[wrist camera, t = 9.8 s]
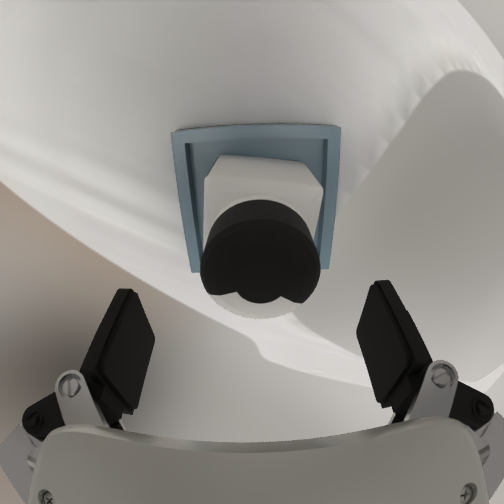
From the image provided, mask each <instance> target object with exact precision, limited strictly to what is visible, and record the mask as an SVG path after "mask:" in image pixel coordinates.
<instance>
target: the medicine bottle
mask: <svg viewBox="0 0 504 504" xmlns="http://www.w3.org/2000/svg"><path fill="white" fill-rule="evenodd" d="M322 197H323V188H322V186H321V185H320V184H319V182H318V181H317V180H316V178H315V177H314V176H313V174H312V173H311V171H310V170H309V169H308V168H307V166H306V165H305V164H304V163H303V162H299V161H291V160H283V159H274V158H264V157H253V156H241V155H227V154H221V155H219V156H218V158H217V160H216V161H215V163H214V164H213V166H212V168H211V169H210V171H209V172H208V174H207V176H206V177H205V180H204V223H203V255H202V258H201V264H200V275H201V280H202V283H203V285H204V287H205V289H206V291H207V293H208V294H209V295H210V297H211V298H212V299H213V300H214V301H215V302H216V303H217V304H219V305H220V306H221V307H223V308H224V309H226V310H228V311H229V312H231V313H234V314H236V315H239V316H242V317H247V318H254V319H266V318H273V317H277V316H281V315H284V314H286V313H288V312H290V311H292V310H294V309H296V308H297V307H298V306H300V305H301V304H302V303H303V302H305V301H306V300H307V299H308V297H309V296H310V295H311V294H312V293H313V291H314V289H315V288H316V286H317V283H318V280H319V277H320V269H321V265H320V258H319V255H318V252H317V249H316V247H315V244H314V241H313V240H314V236H315V231H316V226H317V222H318V217H319V212H320V207H321V202H322Z"/></svg>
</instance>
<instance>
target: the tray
mask: <svg viewBox="0 0 504 504" xmlns="http://www.w3.org/2000/svg"><path fill="white" fill-rule="evenodd" d="M340 133H341V128H340V127H337V126H334V125H321V124H283V123H278V124H240V125H223V126H210V127H199V128H190V129H181V130H176V131H174V132H171V138H172V147H173V156H174V164H175V172H176V180H177V187H178V194H179V201H180V208H181V215H182V221H183V227H184V233H185V239H186V245H187V250H188V256H189V261H190V267H191V272H192V273H197V272H200V264H201V258H202V255H203V223H204V180H205V177H206V176H207V174H208V172H209V171H210V169H211V168H212V166H213V164H214V163H215V161H216V160H217V158H218V156H219V155H221V154H227V155H241V156H253V157H264V158H274V159H283V160H291V161H299V162H303V163H304V164H305V165H306V166H307V168H308V169H309V170H310V171H311V173H312V174H313V176H314V177H315V178H316V180H317V181H318V182H319V184H320V185H321V186H322V188H323V197H322V202H321V207H320V212H319V217H318V222H317V226H316V231H315V236H314V240H313V241H314V244H315V247H316V249H317V252H318V255H319V258H320V265H321V269H329V263H330V255H331V247H332V239H333V230H334V221H335V211H336V200H337V188H338V174H339V157H340Z"/></svg>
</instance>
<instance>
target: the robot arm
mask: <svg viewBox="0 0 504 504" xmlns="http://www.w3.org/2000/svg"><path fill="white" fill-rule="evenodd" d="M356 334H357V339H358V342H359V344H360V348H361V351H362V354H363V357H364V360H365V363H366V367H367V370H368V373H369V377H370V380H371V383H372V387H373V390H374V394H375V397H376V400H377V402H378V403H381V406H382V408H387V407H390V406H392V409H393V412H394V413H393V415H392V417H391V420H390V421H389V423H388V425H386V426H382V427H377V428H373V429H368V430H362V431H357V432H352V433H347V434H341V435H335V436H328V437H321V438H313V439H304V440H292V441H278V442H252V443H251V442H250V443H237V442H209V441H195V440H184V439H175V438H174V439H173V438H166V437H159V436H153V435H146V434H140V433H134V432H129V431H127V430H126V428H125V426H124V424H123V422H122V420H121V417H122V413H125V414H130V415H133V411H134V409H137V407H138V404H139V399H140V396H141V391H142V388H143V383H144V379H145V376H146V372H147V368H148V365H149V361H150V357H151V353H152V350H153V346H154V343H155V336H154V333H153V331H152V329H151V326H150V324H149V322H148V319H147V317H146V314H145V312H144V309H143V307H142V304H141V302H140V299H139V297H138V294H137V293H136V292H134V291H133V290H132V289H118V290H117V292H116V294H115V296H114V298H113V300H112V302H111V304H110V306H109V308H108V310H107V312H106V314H105V316H104V318H103V320H102V322H101V323H100V326H99V328H98V330H97V332H96V334H95V336H94V339H93V341H92V343H91V345H90V347H89V350H88V352H87V354H86V357H85V359H84V361H83V364H82V366H81V369H80V371H75V370H70V371H66V372H64V373H63V374H61V376H60V377H59V378H58V379H57V381H56V384H55V392H54V393H52V394H51V395H49V396H47V397H45V398H43V399H42V400H40V401H38V402H36V403H35V404H33V405H32V406H30V407H28V408H27V409H26V410H25V412H24V414H23V418H22V423H23V424H22V425H20V424H18V426H16V428H15V429H14V430H13V431H12V432H11V433H10V434H9V435H8V437H7V438H6V439H5V440H4V441H3V442H2V444H0V464H1V466H2V468H3V470H4V471H5V473H6V475H7V476H8V478H9V479H10V481H11V483H12V484H13V486H14V488H15V489H16V491H17V492H18V493H19V495H20V496H21V498H22V499H23V501H24V502H25V503H26V504H489V499H490V498H491V497H492V495H493V494H494V492H495V491H496V489H497V488H498V486H499V485H500V483H501V482H502V480H503V478H504V418H503V417H502V416H501V415H500V414H499V413H498V412H496V413H494V407H493V403H492V401H491V399H490V398H489V397H488V396H487V395H485V394H483V393H481V392H479V391H477V390H475V389H474V388H472V387H470V386H468V385H466V384H464V383H462V382H460V381H458V374H457V371H456V369H455V367H454V366H453V365H452V364H450V363H449V362H447V361H444V360H437V361H434V362H433V361H432V359H431V356H430V354H429V352H428V350H427V348H426V346H425V344H424V341H423V339H422V338H421V335H420V333H419V332H418V330H417V327H416V325H415V323H414V322H413V320H412V318H411V316H410V314H409V312H408V311H407V310H406V309H405V307H404V305H403V303H402V301H401V300H400V298H399V296H398V295H397V292H396V291H395V289H394V287H393V285H392V284H391V282H390V281H389V280H380V281H375V282H374V284H373V285H371V286H370V289H369V292H368V295H367V299H366V302H365V305H364V308H363V311H362V315H361V318H360V321H359V324H358V327H357V331H356Z"/></svg>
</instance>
